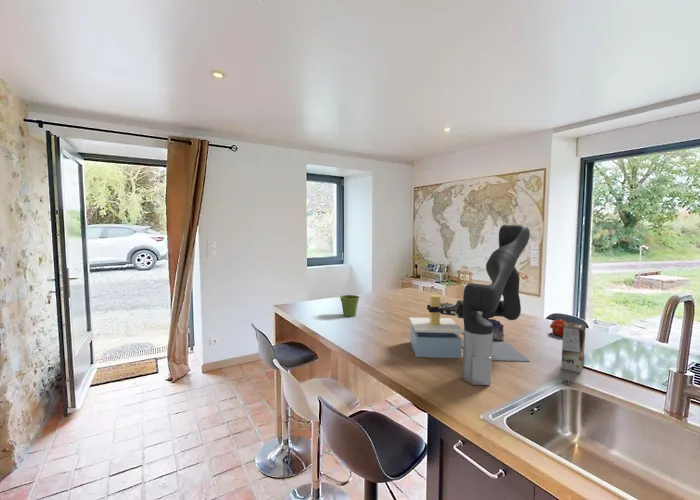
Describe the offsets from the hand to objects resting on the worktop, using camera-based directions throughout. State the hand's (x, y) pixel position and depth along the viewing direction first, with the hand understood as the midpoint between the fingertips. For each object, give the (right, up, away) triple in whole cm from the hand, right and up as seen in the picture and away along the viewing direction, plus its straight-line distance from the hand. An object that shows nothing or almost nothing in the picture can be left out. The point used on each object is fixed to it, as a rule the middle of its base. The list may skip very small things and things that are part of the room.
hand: (428, 308), depth 144 cm
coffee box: (+51, -20, -16) cm, 57 cm away
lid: (+3, -8, 0) cm, 8 cm away
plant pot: (-34, -14, +56) cm, 67 cm away
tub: (+3, -18, +1) cm, 18 cm away
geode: (+34, -17, +22) cm, 44 cm away
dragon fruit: (+71, -17, +22) cm, 76 cm away
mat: (+27, -18, 0) cm, 32 cm away
